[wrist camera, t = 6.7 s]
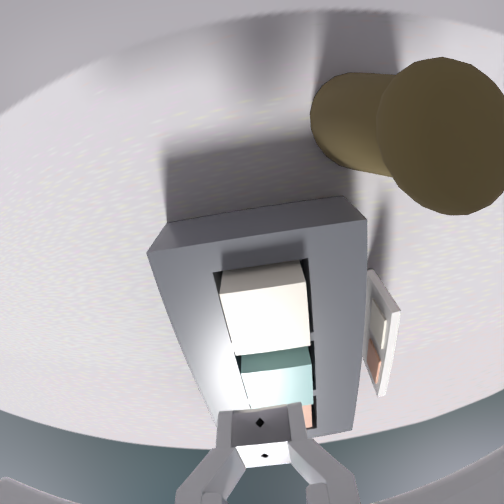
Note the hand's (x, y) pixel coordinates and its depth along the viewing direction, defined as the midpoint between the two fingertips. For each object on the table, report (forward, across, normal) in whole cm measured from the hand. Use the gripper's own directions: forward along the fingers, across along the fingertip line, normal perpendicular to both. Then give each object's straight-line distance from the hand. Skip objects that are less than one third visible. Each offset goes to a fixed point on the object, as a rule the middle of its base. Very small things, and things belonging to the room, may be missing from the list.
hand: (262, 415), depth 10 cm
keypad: (+11, -1, +5) cm, 12 cm away
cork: (+11, -8, -9) cm, 16 cm away
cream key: (+8, -1, 0) cm, 8 cm away
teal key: (+8, -1, +5) cm, 10 cm away
